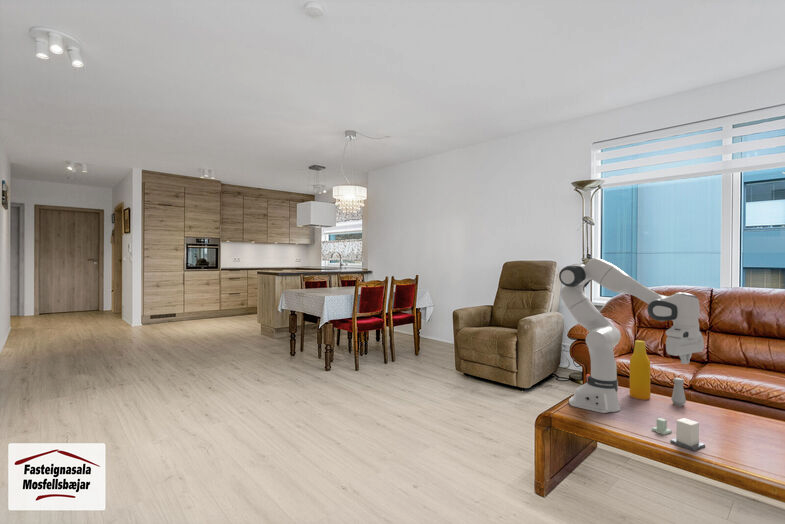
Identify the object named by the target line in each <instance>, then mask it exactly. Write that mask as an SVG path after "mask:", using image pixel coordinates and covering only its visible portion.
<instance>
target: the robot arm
mask: <svg viewBox="0 0 785 524" xmlns="http://www.w3.org/2000/svg"><path fill="white" fill-rule="evenodd" d="M558 279H559V281H560V283H561V284H563V287H562V288H561V289H560V293H559V294H560V297H561V299H562V301H563V303H564V306H566V309H568V310H569V312H570V313H571V315H572V317H574V319H575V321H576V322H577V323H578V324H579V325H580V326H582V327H583V328H585V330H587V331H588V333H587V335H586V336H585V344H586V346H587V348H588V353H589V358H590V374H589V373H588V374H586V375H585V378H586V382H585V383H584V384H582V385H580V386H578V387H577V388H576V389H575V390H574V394H573V395H572V396H571V398H570V397H569V400H568V404H569V405H570V406H571V407H575V408H580V409H584V410H589V411H592V412H597V413H601V414H606V413H615V412H619V411H620V410H621V406H620V403H619V396H618V391H619V390H618V389H619V381H618V378H617V377H618V376H617V375H618V374H617V371H618V370H617V366H618V365H617V364H618V363H617V361H616V358H615V354H614V348H615V346H617V345H618V344H619V343H620V340H621V337H622V334H621V331H620V330H619V328H617V327H616V326H614V325H613V324H612V323H611V322H610V321H609V320H608V319H607V318H606V317H605V316H604V315H603V314H602V313H601V312H600V311H599V310H598V309H597V307H596V306H595V305H594V304H593V302H592V300H590V298H589V297H588V295H587V294H586V293H585V291H584V288H587V286H588V284H589V283H590V282H591V281H594V282H595V283H596V284H599V286H601V287H603V288H605V290H606V289H607V290H609V291H611V292H613V293H620V294H628V295H631V296H632V297H633V296H634V297H636V298H637V299H639V300H640V301H642V302H644V303H646V304H647V308H646V309H647V314H648V315H649V316H650V317H651V319H653V320H655V321H658V322H665V321H666V322H667V321H668V322H669V321H672V324H673V325H672V326H671V327H670V328H668V329H667V330H666V331H665V335H666V336H667V337H666V338H665V339H666V341H665V344H666V345H665V349H666V350H665V351H666V353H667V355H669V356H679V359H680V364H682V365H689V364H690V359H691V357H692V356H693V355H692V354H695V353H699V352H700V353H701V352H704V349H705V343H704V342H705V341H704V340H705V339H704V336H703V335H702V331H700V322H699V319H700V315H701V311H700V310H701V309H700V308H701V307H700V300H699V297H698V296H696V294H692V293H688V292H681V291H678V292H676V293H674V294H672V295H669V296H668V295H663V294H661V293H658V292H657V291H654V290H653V289H651V288H649V287H648V286H646V285H644V284H643V283H640V282H638V281H637V280H636V279H634V278H633V277H632V276H630V275H629V274H628V273H626V272H625V271H623V270H622V269H621V268H619V267H618V266H616V265H614V264H612V263H611V262H608V261H606V260H604V259H601V258H599V257H593V258H592V259H590V260H588V262H587V263H574V264H571V265H567V266H565V267H563V268H562V269H560V271H559V275H558Z"/></svg>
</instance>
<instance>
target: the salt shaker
mask: <svg viewBox="0 0 785 524" xmlns="http://www.w3.org/2000/svg"><path fill="white" fill-rule="evenodd" d="M672 381H673V383H674V386H673V390H672V395H671V402H672V403H673V405H674V406H677V407H685V406H684V405H685V404H686V402H687V399H686V395H685V391H684V390H685V389H684V383H685V380H684V378H681V377H674V378H673V380H672Z"/></svg>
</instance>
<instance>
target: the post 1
mask: <svg viewBox="0 0 785 524" xmlns="http://www.w3.org/2000/svg"><path fill="white" fill-rule="evenodd" d="M651 431H653V432H655V431H656V433H658V432H659V434H661V435H663V436H665V434H666V435H669V434H671V433H672V429H670V428H668V420H667V419H665V418H662V417H659V418H656V426H653V427H651Z"/></svg>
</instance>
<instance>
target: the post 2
mask: <svg viewBox="0 0 785 524" xmlns="http://www.w3.org/2000/svg"><path fill="white" fill-rule="evenodd" d="M670 443H671V444H674V445H676V446H678V447H681V448H684V449H686V448H687V450H689V449H690V450H689V451H691V450H692V452H695V451H698V450H700V449H703V448H706V444H705V443H703V442H701V441H699V443H698V444H696V445H693V446H689V445H687V444H684V443H682V442H679V441H676V437H674V438H672V439H670Z"/></svg>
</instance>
